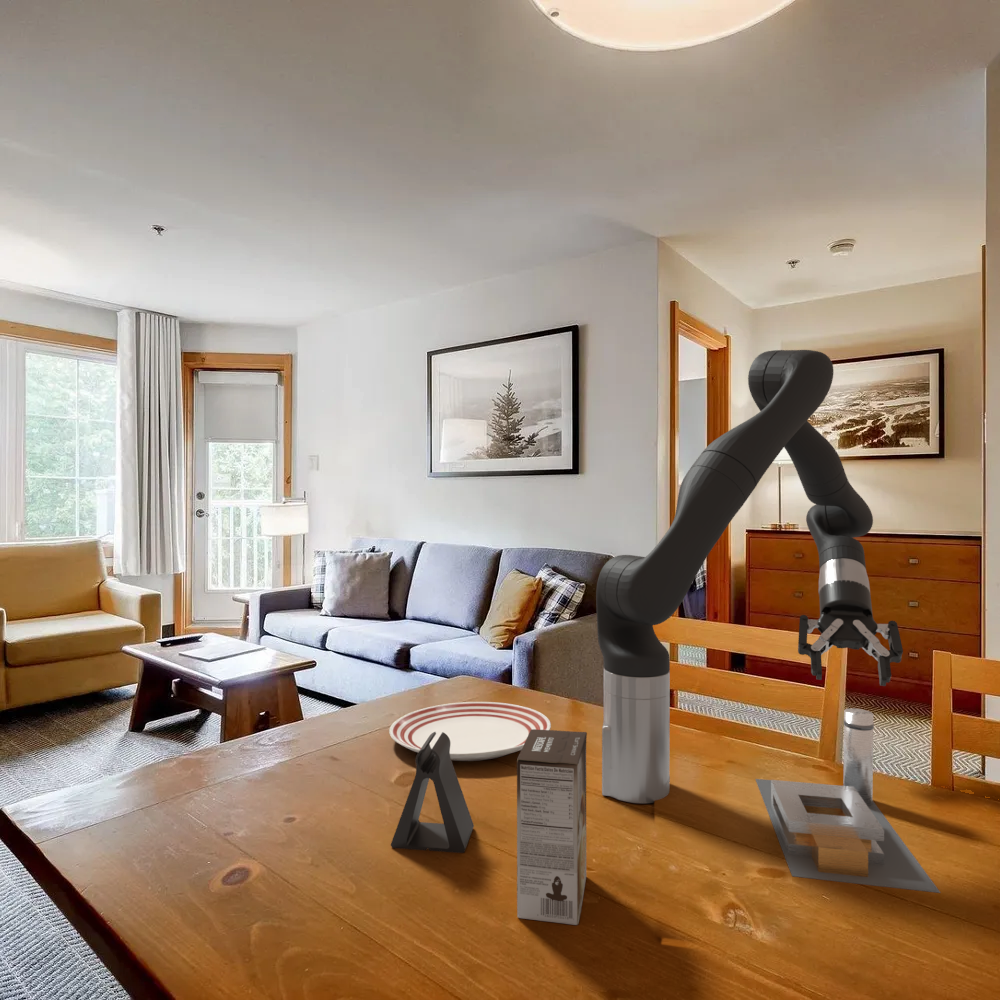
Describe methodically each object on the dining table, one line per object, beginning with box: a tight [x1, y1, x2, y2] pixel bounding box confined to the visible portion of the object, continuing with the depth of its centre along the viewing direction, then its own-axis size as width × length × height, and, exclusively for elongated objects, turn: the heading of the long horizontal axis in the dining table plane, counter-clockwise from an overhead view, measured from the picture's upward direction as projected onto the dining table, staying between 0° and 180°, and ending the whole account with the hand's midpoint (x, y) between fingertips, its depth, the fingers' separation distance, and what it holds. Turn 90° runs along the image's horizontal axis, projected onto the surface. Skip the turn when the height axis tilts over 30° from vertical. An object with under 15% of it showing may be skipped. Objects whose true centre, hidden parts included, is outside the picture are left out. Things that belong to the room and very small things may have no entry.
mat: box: [755, 778, 941, 894], centre depth 85 cm, size 14×26×1 cm, turn 168°
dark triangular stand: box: [390, 732, 475, 854], centre depth 83 cm, size 9×6×12 cm, turn 82°
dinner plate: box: [388, 701, 552, 762], centre depth 116 cm, size 28×27×3 cm
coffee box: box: [516, 729, 588, 926], centre depth 71 cm, size 9×6×16 cm
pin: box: [842, 707, 875, 806], centre depth 92 cm, size 4×4×12 cm
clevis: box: [770, 779, 884, 877], centre depth 81 cm, size 10×14×4 cm
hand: (851, 680), depth 101 cm, fingers open, 8 cm apart
